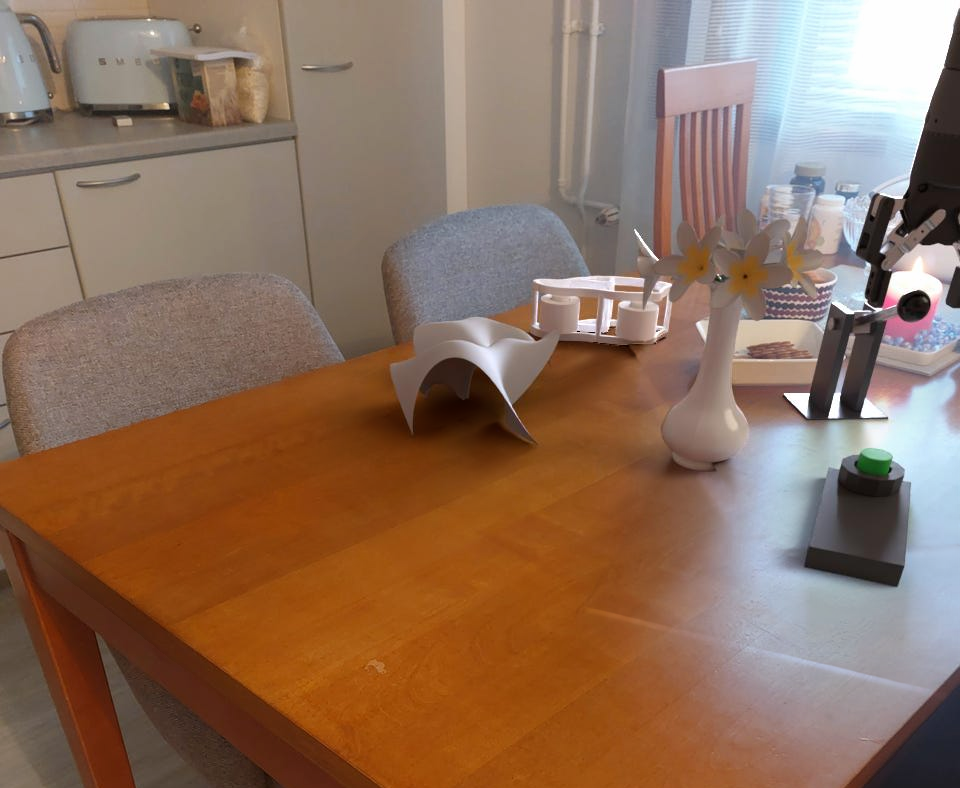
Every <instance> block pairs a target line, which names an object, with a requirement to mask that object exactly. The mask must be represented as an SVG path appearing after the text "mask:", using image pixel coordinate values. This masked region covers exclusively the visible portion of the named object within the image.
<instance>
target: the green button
mask: <svg viewBox="0 0 960 788" xmlns="http://www.w3.org/2000/svg"><path fill="white" fill-rule="evenodd" d="M859 455H860V456H859V459H858V463H857V467H856V468H857V469H858V470H860V471H863V472H865V473H869V474H874V475H886V474H888V471H889V468H890V465H891V462H892V461H893V457H894V456H893V454H892V453H891V452H889V451H887V450H884V449H881V448H876V447H867V448H863V449H861V451H860V453H859Z"/></svg>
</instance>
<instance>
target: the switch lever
mask: <svg viewBox="0 0 960 788" xmlns="http://www.w3.org/2000/svg"><path fill="white" fill-rule="evenodd" d="M931 307H932V301H931V297H930V295H929V294H928V293H927V292H926V291H924V290H921V289H911V290H908V291H906V292H904V293H903V294H902V295H901V296H900V298H899V299H898V301H897V304H896V305H893V306H890V307H886V308H882V309H883V310H880V311H877V312H874V313H871V311H862V310H851V311H852V312H853V313H855V316H854V320H853V324H852V328H851V332H850V336H849V337H855V336H860V335H864V334H868V333H870V326H871V325H873V324H876V323H880V322H883V321H886V320H887V321H889V320H893V319H897V318H900V319H901V320H902V321H903V322H905V323H909V324H911V323H913V324H914V323H918V322H920V321H922V320H923V319H925V318H926V317H927V316H928V314H929V313H930V310H931Z"/></svg>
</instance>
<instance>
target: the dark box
mask: <svg viewBox="0 0 960 788" xmlns="http://www.w3.org/2000/svg"><path fill="white" fill-rule="evenodd" d="M859 456H860V454H850V455H848V456H845V457H844V458H842V460H841V463H840V467H839V468H833V467H828V469H827V473H826V477H825V481H824V485H823V489H822V493H821V497H820V501H819V505H818V507H817V513H816V517H815V521H814V524H813V529H812V533H811V536H810V540H809V545H808V548H807V552H806V556H805V560H804V564H803V568H806V569H810V570H816V571H820V572H823V573H824V572H825V573H829V574H834V575H839V576H844V577H847V578H848V577H849V578H852V579H857V580H862V581H867V582H871V583H876V584H881V585H884V586H885V585H886V586H890V587H895V588H898V587H899V584H900V581H901V579H902V575H903V572H904V569H905V567H906V556H907V555H906V554H907V541H908V527H909V515H910V501H911V487H912V482H911V481H906V480H904V479H905V471H906V470H905V468H904V467H902V465H900V464H899V462H896V461H894V460H892V462H891V465H890V468H889V471H888V474H886V475H874V474H869V473H865V472H863V471H860V470H858V469H857V468H856V467H857V463H858V459H859Z"/></svg>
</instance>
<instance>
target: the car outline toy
mask: <svg viewBox="0 0 960 788" xmlns="http://www.w3.org/2000/svg"><path fill="white" fill-rule="evenodd" d="M644 281H645V279H643V278H641V277H632V276H618V275H617V276H616V275H591V276H577V277H575V276H574V277H569V278H561V279H559V278H557V279H556V278H535V279H533V280H532V300H531V316H530V317H531V318H530V325H529V333H530V334H531V335H533V336H535V337H537V338H540V339H542V338H543V337H544V336H546V335H547V334H548V333H550V332H552V331H555V330H560V332H561V333H560V338H559V341H562V342H565V341H566V342H588V343H593V342H598V343H597V344H600V343H610V344H611V343H612V344H633V343H653V342H656V340H657V338H658V337H660V336H661V335H663V334H665V333H667V332H668V333H669V328H670V320H671V314H672V306H673V302H670V301H669V291H670V288H671V286H672V284H673V283H671V282H666V281H660V280H658V282H657V283H656V285H655V287H654V288H653V290H652V292H651V294H650V297H649V299H648V301H647V304H646V306H645V309H644V311H643V305H642V304H643V302H642V301H643V291H621V290H615V287H616V286H626V287H635V288H636V287H638V288H644ZM539 293H540V294H544V295H542V296H541V297H540V302H539ZM580 297H583V298H585V297H586V298H594V299H598V300H597V309H596V310H597V311H596V318H588V319H582V320H581V319H580V309H581V298H580ZM665 297H666V302H665V303H666V304H665V311H664V318H663V324H662V326H661V325H658V318H659V311H660V306H659V305H658V304H657V303H655V302H661V301H663V298H665ZM614 301H620V302H618V303H617V313H616V319H612V317H613V316H612V315H613V308H614V307H613V306H614ZM539 303H540V304H539ZM538 304H539V320H538ZM537 320H538V321H537ZM610 326H616V328H615V332H614V334H615V335H608V334H601V332H603V333H604V332H608V333H609V331H610V328H609V327H610ZM608 330H609V331H608ZM656 330H660V331H658V332H656ZM577 331H580V332H577ZM588 332H595V333H588ZM656 343H657V342H656Z"/></svg>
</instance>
